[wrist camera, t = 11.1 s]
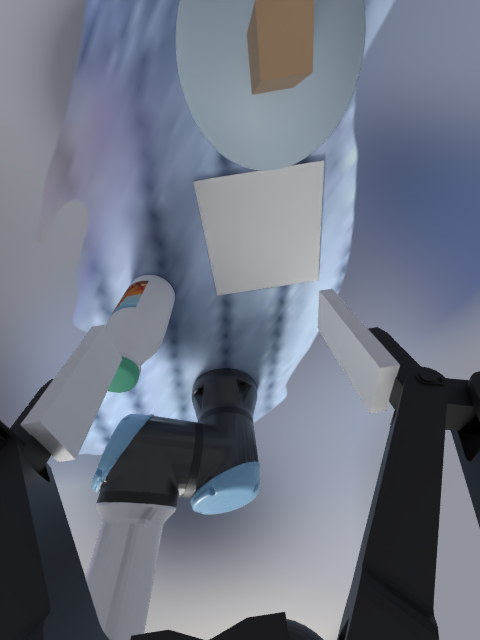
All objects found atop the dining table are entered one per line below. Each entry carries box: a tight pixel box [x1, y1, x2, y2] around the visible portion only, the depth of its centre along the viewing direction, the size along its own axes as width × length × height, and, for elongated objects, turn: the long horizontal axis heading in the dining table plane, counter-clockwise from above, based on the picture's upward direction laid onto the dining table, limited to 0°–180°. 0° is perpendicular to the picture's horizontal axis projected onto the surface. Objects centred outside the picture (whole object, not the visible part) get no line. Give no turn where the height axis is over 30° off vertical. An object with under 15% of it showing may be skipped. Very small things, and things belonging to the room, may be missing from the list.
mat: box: [193, 160, 324, 296], centre depth 39 cm, size 18×18×1 cm
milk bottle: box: [106, 275, 175, 393], centre depth 36 cm, size 8×8×20 cm
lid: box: [176, 0, 365, 171], centre depth 21 cm, size 17×17×7 cm
